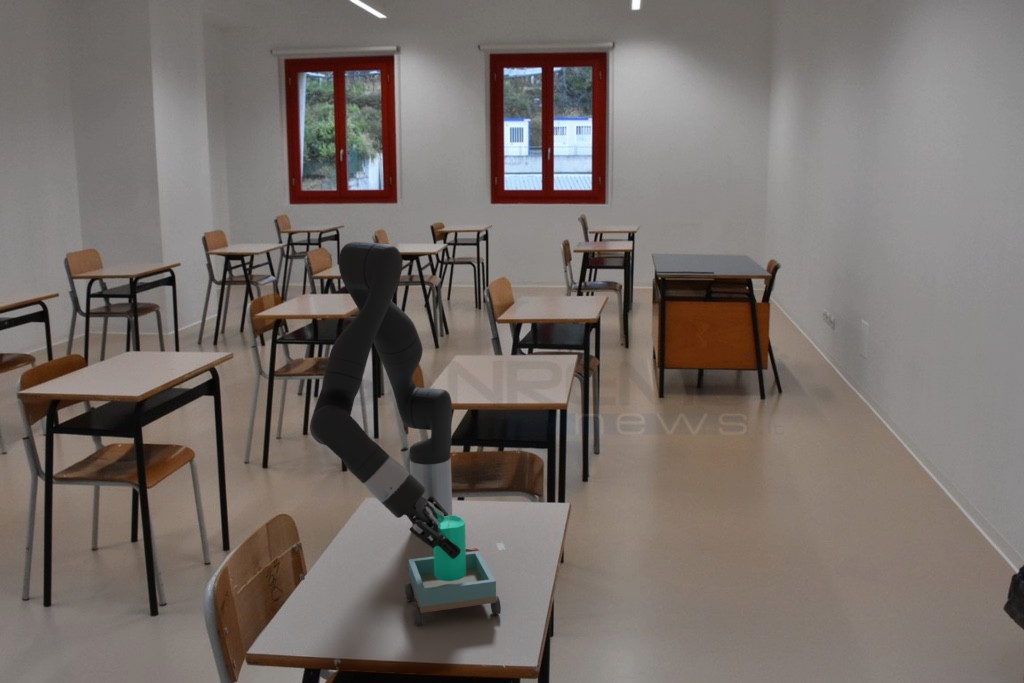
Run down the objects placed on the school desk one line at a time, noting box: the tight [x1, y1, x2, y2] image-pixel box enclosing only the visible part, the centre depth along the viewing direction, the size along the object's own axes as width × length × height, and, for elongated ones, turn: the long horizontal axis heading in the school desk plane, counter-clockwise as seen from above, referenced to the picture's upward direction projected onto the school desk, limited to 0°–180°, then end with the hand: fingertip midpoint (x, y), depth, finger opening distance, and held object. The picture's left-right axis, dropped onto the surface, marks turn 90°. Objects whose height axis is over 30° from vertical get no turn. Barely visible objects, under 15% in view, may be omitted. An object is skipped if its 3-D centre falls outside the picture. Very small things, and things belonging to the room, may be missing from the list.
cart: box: [404, 550, 502, 626], centre depth 178 cm, size 14×16×7 cm
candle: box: [433, 514, 467, 581], centre depth 177 cm, size 6×6×12 cm
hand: (459, 548), depth 177 cm, fingers closed on candle, 4 cm apart
